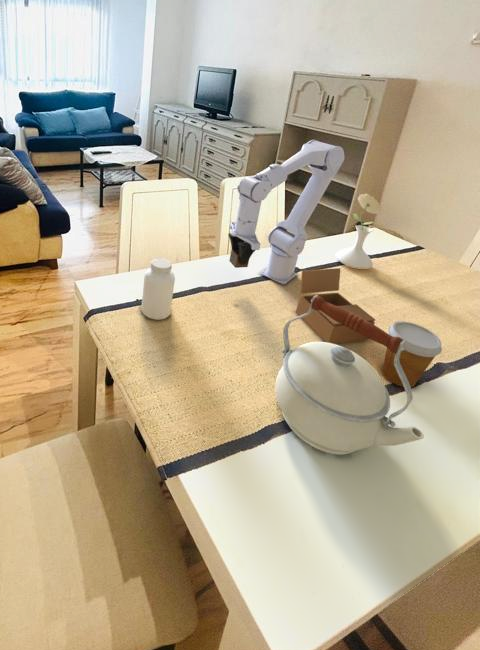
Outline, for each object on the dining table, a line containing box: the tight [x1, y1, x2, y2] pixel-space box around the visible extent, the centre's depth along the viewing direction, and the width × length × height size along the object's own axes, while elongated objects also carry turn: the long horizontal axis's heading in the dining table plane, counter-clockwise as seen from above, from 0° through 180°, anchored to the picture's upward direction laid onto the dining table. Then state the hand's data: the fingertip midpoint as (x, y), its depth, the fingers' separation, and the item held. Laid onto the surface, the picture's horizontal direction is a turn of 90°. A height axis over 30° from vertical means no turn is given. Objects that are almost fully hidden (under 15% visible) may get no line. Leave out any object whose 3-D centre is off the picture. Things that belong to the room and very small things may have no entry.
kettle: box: [274, 295, 425, 456], centre depth 69 cm, size 25×18×25 cm
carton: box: [295, 292, 376, 345], centre depth 101 cm, size 13×12×6 cm
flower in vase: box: [335, 193, 381, 270], centre depth 131 cm, size 13×11×25 cm
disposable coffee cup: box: [381, 320, 443, 388], centre depth 85 cm, size 10×10×12 cm
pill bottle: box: [141, 257, 176, 321], centre depth 101 cm, size 8×8×15 cm
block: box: [228, 249, 250, 269], centre depth 115 cm, size 4×4×4 cm
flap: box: [300, 267, 341, 295], centre depth 106 cm, size 6×12×1 cm
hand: (239, 259), depth 115 cm, fingers closed on block, 4 cm apart
